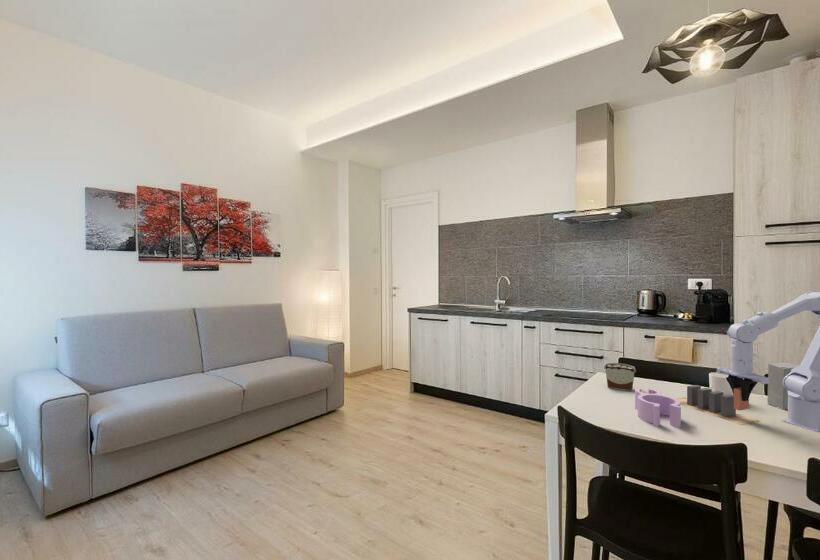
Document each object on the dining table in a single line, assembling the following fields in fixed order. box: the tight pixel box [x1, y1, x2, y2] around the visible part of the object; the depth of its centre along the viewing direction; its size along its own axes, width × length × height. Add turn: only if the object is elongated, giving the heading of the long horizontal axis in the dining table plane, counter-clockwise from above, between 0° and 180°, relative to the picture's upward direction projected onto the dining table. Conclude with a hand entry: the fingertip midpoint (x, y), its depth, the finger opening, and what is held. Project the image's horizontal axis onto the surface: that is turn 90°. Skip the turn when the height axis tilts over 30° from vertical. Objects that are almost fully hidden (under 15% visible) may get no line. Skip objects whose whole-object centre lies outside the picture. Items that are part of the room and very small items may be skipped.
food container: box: [603, 362, 637, 392], centre depth 171 cm, size 12×6×10 cm, turn 58°
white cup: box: [708, 372, 733, 395], centre depth 153 cm, size 8×8×10 cm
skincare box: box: [767, 362, 800, 410], centre depth 145 cm, size 8×7×16 cm
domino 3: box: [709, 391, 724, 413], centre depth 140 cm, size 2×5×7 cm, turn 108°
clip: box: [634, 387, 682, 429], centre depth 138 cm, size 20×12×7 cm, turn 169°
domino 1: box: [686, 384, 702, 406], centre depth 148 cm, size 2×5×7 cm, turn 109°
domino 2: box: [698, 387, 712, 410], centre depth 144 cm, size 2×5×7 cm, turn 108°
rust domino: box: [734, 387, 750, 411], centre depth 133 cm, size 2×5×7 cm, turn 109°
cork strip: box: [676, 397, 760, 426], centre depth 142 cm, size 26×9×1 cm, turn 19°
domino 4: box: [721, 394, 737, 417], centre depth 137 cm, size 2×5×7 cm, turn 108°
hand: (741, 399), depth 133 cm, fingers closed on rust domino, 2 cm apart
